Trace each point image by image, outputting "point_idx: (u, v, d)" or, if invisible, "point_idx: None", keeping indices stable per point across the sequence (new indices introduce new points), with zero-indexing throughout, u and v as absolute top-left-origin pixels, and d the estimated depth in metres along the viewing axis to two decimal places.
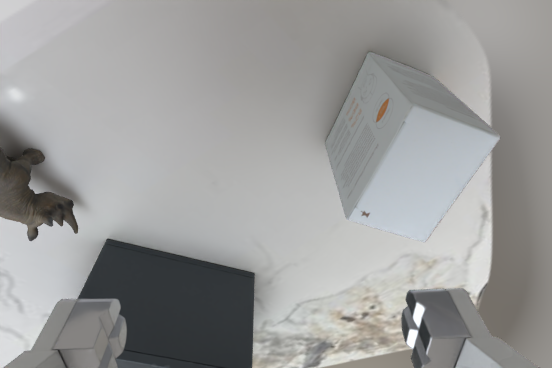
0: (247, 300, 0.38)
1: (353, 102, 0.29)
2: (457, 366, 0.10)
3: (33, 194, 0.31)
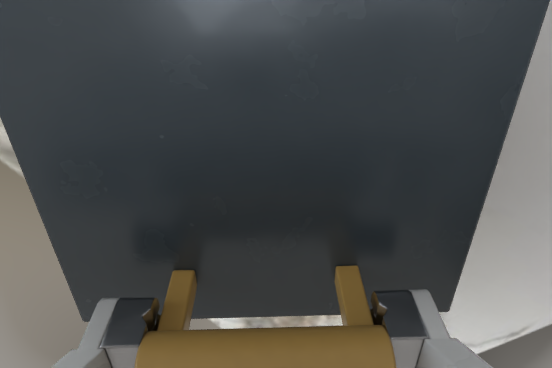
0: None
1: None
2: (418, 367, 0.10)
3: None
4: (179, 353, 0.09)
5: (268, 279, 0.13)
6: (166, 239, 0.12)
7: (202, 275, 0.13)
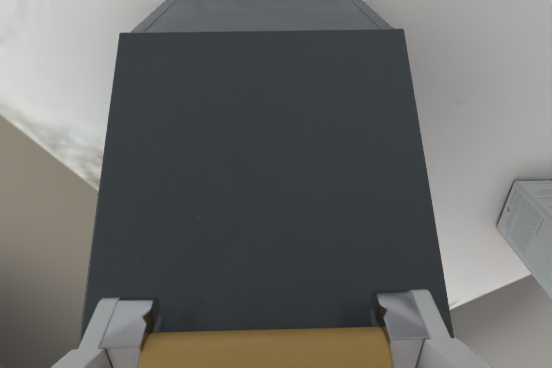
0: None
1: None
2: (418, 367, 0.10)
3: None
4: (187, 332, 0.10)
5: None
6: (182, 312, 0.14)
7: None
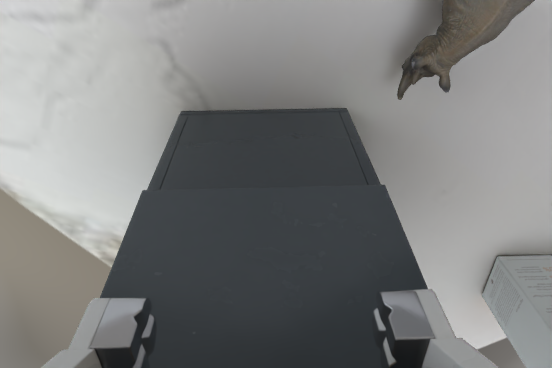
0: None
1: None
2: (423, 367, 0.10)
3: None
4: None
5: None
6: None
7: None
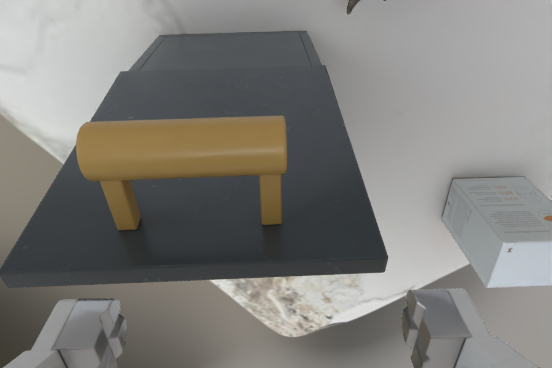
0: None
1: (503, 187, 0.41)
2: (457, 366, 0.10)
3: None
4: None
5: (202, 224, 0.14)
6: None
7: (145, 221, 0.14)
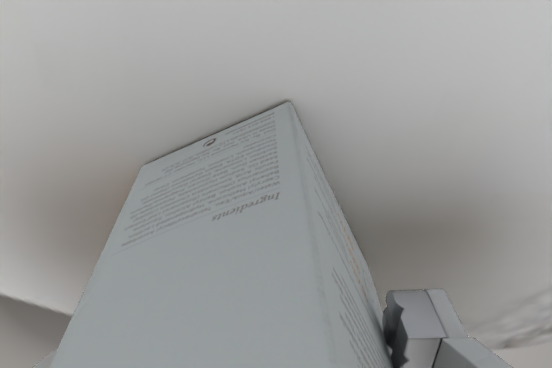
0: None
1: (349, 240, 0.13)
2: (434, 367, 0.10)
3: None
4: None
5: None
6: None
7: None
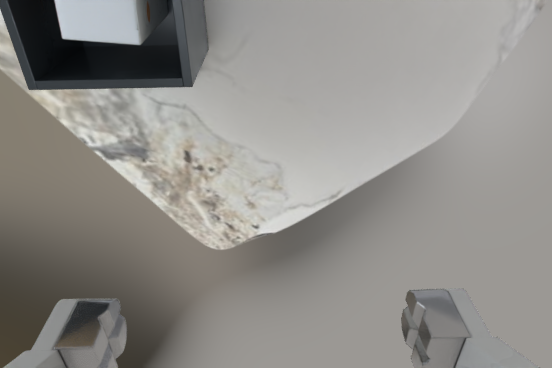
0: (203, 53, 0.37)
1: None
2: (457, 366, 0.10)
3: None
4: None
5: None
6: None
7: None
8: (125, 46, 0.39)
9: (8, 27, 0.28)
